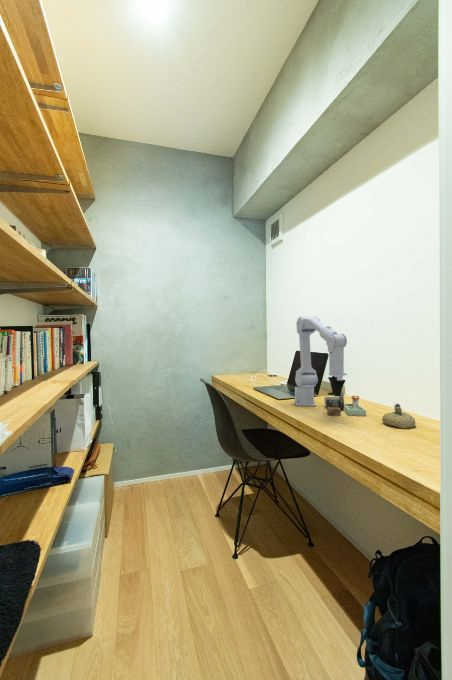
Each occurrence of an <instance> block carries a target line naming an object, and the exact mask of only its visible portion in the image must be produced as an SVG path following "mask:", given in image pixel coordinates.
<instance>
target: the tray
mask: <svg viewBox="0 0 452 680" xmlns="http://www.w3.org/2000/svg"><path fill="white" fill-rule="evenodd" d="M344 412H345V413H346V415H347V416H352V417H367V409H365V407H363V406H360V405H359V406H358V410H352V406H345V405H344Z"/></svg>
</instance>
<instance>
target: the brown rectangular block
mask: <svg viewBox="0 0 452 680" xmlns="http://www.w3.org/2000/svg"><path fill="white" fill-rule="evenodd" d="M326 407H327V408H326V411H327V412H326V414H327V415H328V416H331V417H333V416H334V417H341V416H342V410H341V409H340V408H339V406H333V407H328V406H326Z"/></svg>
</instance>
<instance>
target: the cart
mask: <svg viewBox="0 0 452 680" xmlns="http://www.w3.org/2000/svg"><path fill="white" fill-rule="evenodd" d="M344 398H345V397H344V393H343V392H342V391H341V395H340V396H324V399H323V401H324V402H323V403H324V405H325V407H339V408H340V409H341V411H342V410H344V411H345V399H344Z"/></svg>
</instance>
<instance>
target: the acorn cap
mask: <svg viewBox="0 0 452 680" xmlns="http://www.w3.org/2000/svg"><path fill="white" fill-rule="evenodd" d="M393 409H394V411H392V412H386V413H384V414H383V416H382V417H381V420H382V423H384V424H385V425H387V426H392V427H395V428H396V427H397V428H399V429H413V428H414V427H415V426H416V419H415V418H414V417H413V416H412V415H411V414H409V413H407V412H404V411H403V409H402V408H401V405H400V403H395V405H394V408H393Z"/></svg>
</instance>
